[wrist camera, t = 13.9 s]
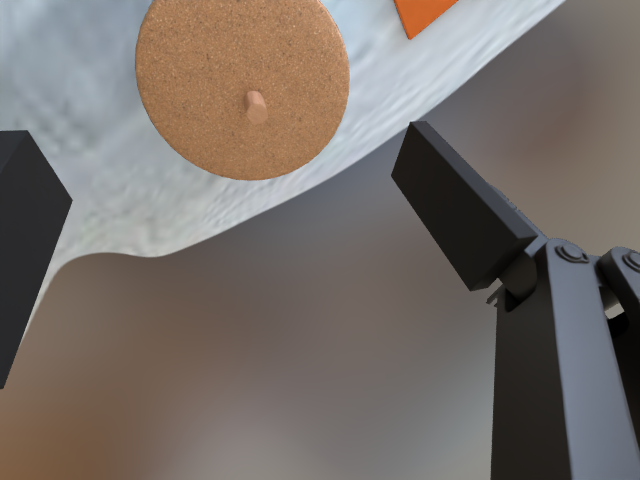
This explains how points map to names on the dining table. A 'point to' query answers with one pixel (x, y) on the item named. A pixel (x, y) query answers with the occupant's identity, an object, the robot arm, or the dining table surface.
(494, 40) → the dining table surface
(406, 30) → the mat
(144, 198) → the dining table surface
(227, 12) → the trinket box
